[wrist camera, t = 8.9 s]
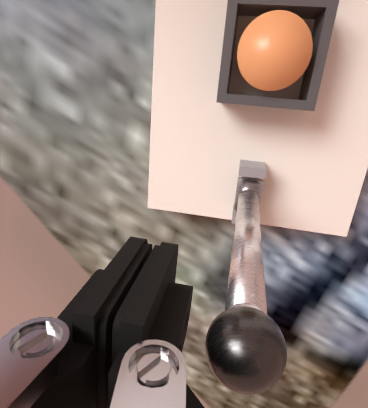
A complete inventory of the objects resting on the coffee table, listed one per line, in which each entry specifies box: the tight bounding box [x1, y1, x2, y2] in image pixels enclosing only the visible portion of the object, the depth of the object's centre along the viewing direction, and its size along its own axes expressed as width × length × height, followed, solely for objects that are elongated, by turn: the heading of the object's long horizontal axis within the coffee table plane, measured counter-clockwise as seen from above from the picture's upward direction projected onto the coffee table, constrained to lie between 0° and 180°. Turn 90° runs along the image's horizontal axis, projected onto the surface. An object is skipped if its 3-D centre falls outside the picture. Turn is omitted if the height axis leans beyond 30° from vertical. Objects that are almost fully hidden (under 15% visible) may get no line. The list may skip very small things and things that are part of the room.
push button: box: [237, 10, 313, 91], centre depth 16 cm, size 4×4×2 cm
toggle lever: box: [205, 176, 287, 395], centre depth 13 cm, size 2×2×14 cm
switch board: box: [148, 0, 368, 237], centre depth 18 cm, size 14×21×6 cm, turn 175°
